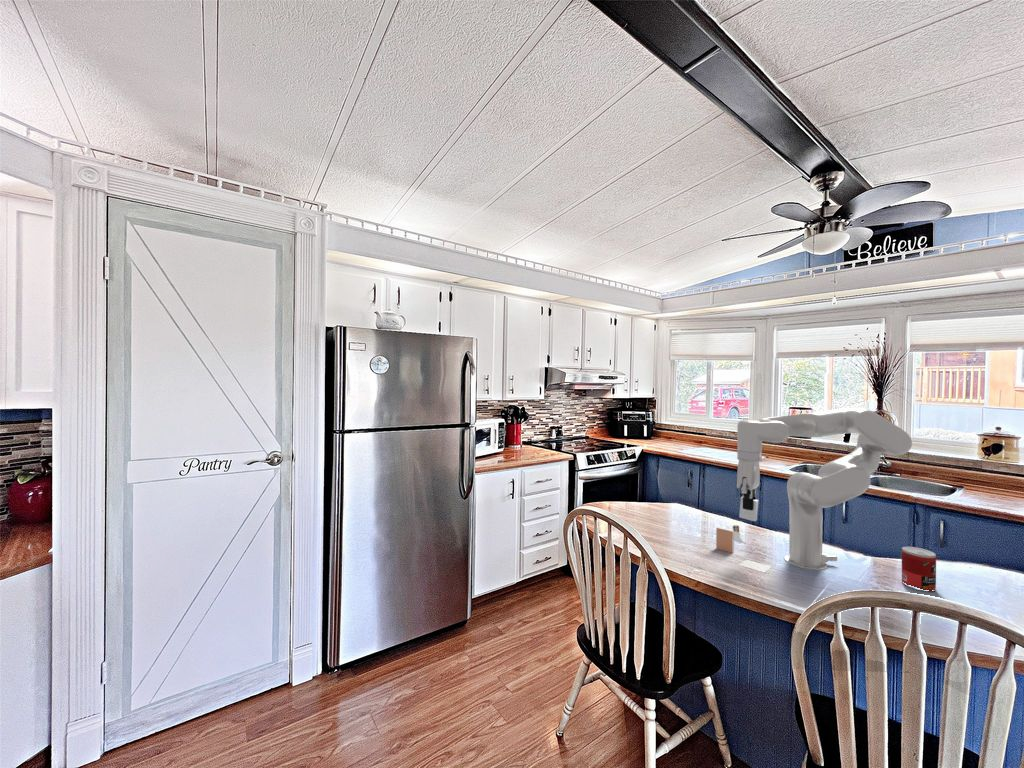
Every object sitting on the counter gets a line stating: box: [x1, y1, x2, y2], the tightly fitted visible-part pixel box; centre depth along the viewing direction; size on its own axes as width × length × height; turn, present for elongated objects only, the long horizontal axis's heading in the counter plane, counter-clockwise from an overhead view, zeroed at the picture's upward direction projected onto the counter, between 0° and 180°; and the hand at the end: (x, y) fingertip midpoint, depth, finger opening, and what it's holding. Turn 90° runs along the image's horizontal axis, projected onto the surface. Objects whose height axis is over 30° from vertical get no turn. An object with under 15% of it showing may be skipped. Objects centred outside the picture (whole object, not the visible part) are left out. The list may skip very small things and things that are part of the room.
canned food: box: [901, 546, 937, 591], centre depth 137 cm, size 8×8×11 cm
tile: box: [715, 526, 735, 554], centre depth 164 cm, size 1×6×8 cm, turn 42°
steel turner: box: [738, 490, 759, 522], centre depth 154 cm, size 2×5×10 cm, turn 46°
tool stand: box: [738, 559, 772, 573], centre depth 150 cm, size 7×8×1 cm
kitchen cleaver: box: [732, 524, 746, 545], centre depth 184 cm, size 24×1×10 cm
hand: (749, 508), depth 154 cm, fingers closed on steel turner, 2 cm apart
